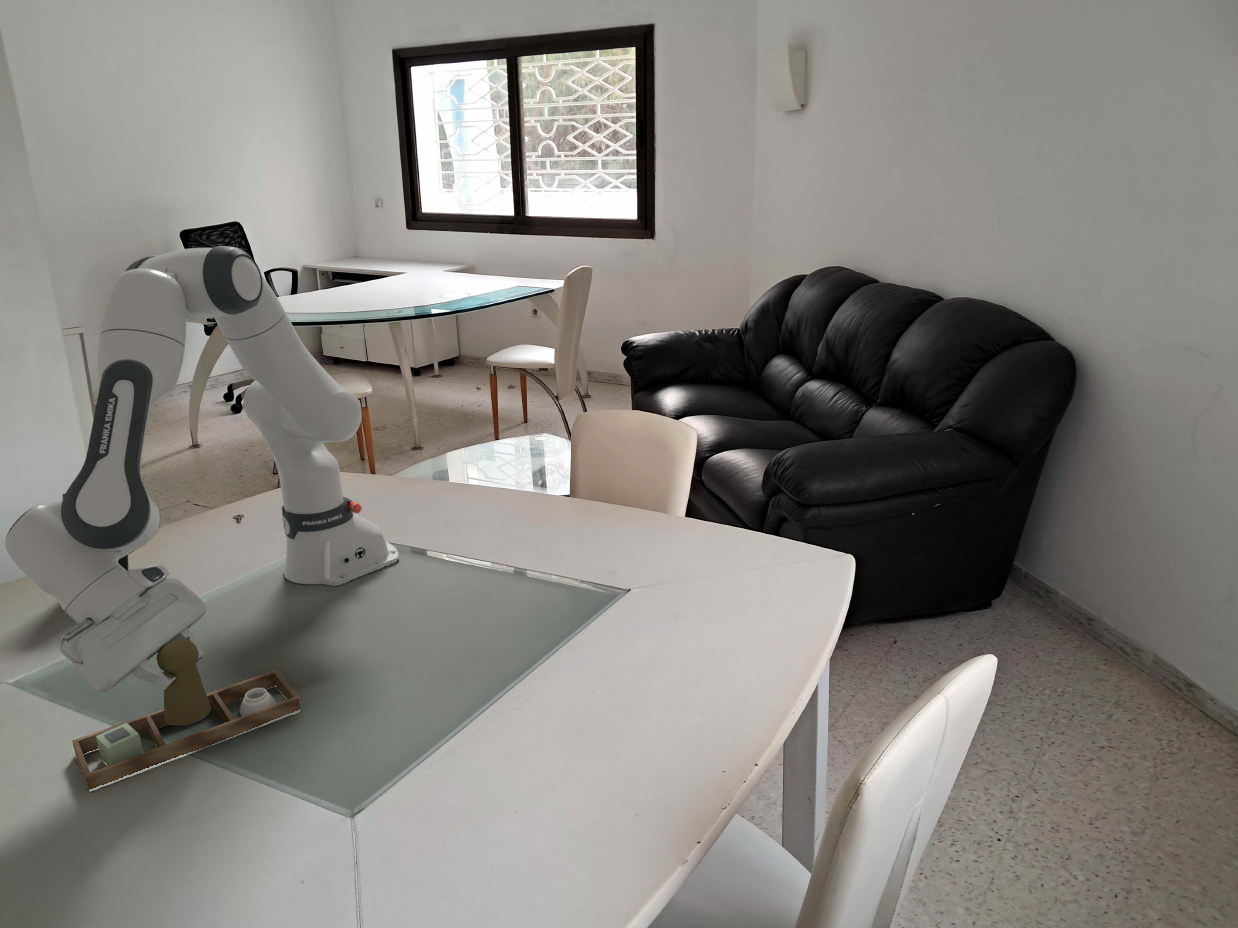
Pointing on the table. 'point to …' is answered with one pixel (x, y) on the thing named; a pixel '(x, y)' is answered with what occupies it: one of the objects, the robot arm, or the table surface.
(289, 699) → the organiser
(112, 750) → the cube with grey panel
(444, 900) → the table surface
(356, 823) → the table surface
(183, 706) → the cork
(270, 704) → the lidless jar
